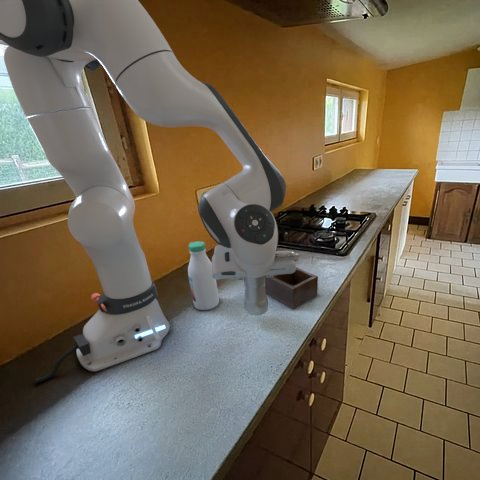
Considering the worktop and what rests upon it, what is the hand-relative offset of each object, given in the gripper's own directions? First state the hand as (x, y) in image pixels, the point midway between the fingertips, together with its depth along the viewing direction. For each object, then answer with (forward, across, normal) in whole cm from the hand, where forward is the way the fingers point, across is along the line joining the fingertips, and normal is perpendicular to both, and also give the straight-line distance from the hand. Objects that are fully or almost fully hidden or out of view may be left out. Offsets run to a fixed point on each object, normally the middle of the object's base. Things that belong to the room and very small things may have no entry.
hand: (254, 275), depth 79 cm
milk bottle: (+18, +15, +2) cm, 23 cm away
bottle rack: (+20, -10, 0) cm, 22 cm away
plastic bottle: (+7, 0, +8) cm, 11 cm away
